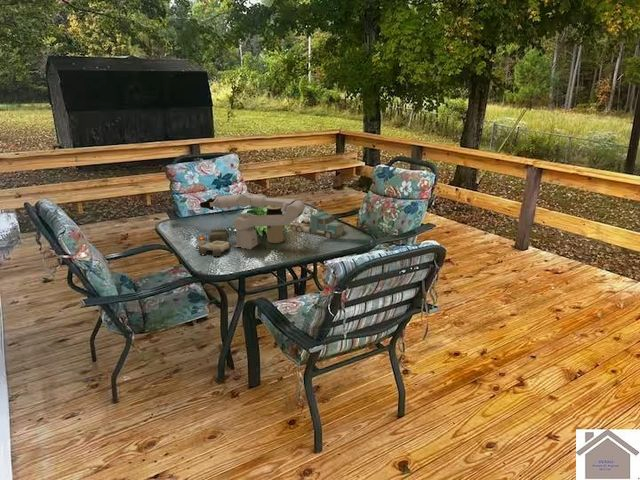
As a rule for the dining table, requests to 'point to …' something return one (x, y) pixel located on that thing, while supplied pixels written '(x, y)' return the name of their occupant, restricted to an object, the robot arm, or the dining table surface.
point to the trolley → (214, 247)
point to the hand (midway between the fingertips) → (204, 203)
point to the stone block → (218, 235)
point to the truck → (320, 225)
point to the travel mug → (274, 231)
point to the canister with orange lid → (201, 241)
